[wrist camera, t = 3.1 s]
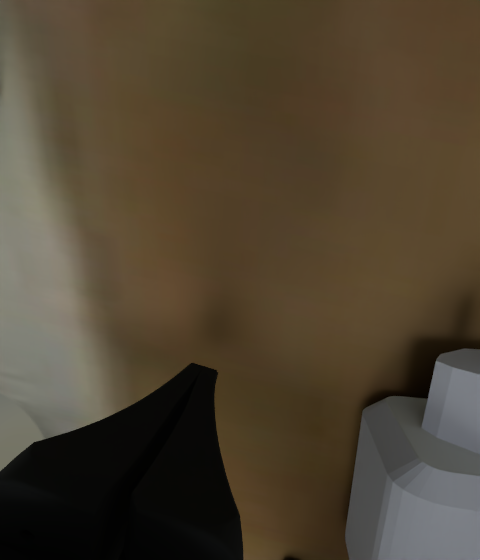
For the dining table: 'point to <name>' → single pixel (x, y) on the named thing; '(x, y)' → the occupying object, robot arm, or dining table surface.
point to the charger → (420, 471)
